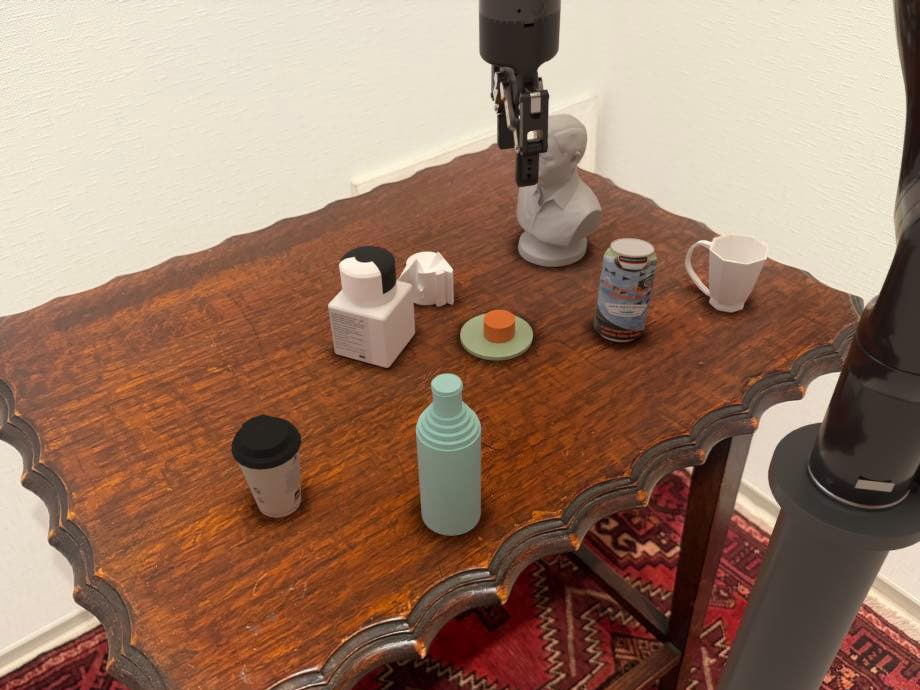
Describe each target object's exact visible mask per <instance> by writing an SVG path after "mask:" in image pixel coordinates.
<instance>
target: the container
mask: <svg viewBox="0 0 920 690" xmlns="http://www.w3.org/2000/svg"><path fill="white" fill-rule="evenodd" d="M338 267H339V275H340V283H341V290H340V291H339V292H338V293H337V294H336V295H335V296H334V297H333V299H332V300H331V301H330V302H329V303H328V305H327V308H328V315H329V322H330V330H331V338H332V344H333V350H334V354H335V355H339V356H342V357H346V358H348V359H352V360H356V361H360V362H363V363H366V364H371V365H374V366H378V367H381V368H385V369H388V368H390V367H391V366H392V364H393V363H394V362H395V361H396V359H397V358H398V357H399V355H400V354H401V353H402V352H403V350H404V349H405V347H406V346H407V345H408V343H410V341H411V340H412V338H413V337H414V336H415V334H416V323H415V321H416V319H415V305H414V304H415V303H414V302H413V288H412V285H411V284H409V283H405V282H400V281H397V270H396V269H397V267H396V258H395V256H394V254H393V253H392V252H391V251H389V250H388V249H387V248H384V247H382V246H378V245H363V246H358V247H354V248H352V249H350V250H348V251H347V252H345V253H344V254H343V255H342V256H341V258H340V259H339V263H338Z"/></svg>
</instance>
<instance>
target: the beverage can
mask: <svg viewBox="0 0 920 690" xmlns="http://www.w3.org/2000/svg"><path fill="white" fill-rule="evenodd" d="M601 265H602V266H601V272H600V278H599V279H600V280H599V287H598V293H597V299H596V306H595V312H594V319H593V329H594V330H595V332H597V333H598V334H599V335H600V336H601V337H602V338H604V339H606V340H609V341H611V342H616V343H627V342H631V341H633V340H636V339H638V338H640V337H641V336H642V335H643V334H644V333H645V327H646V323H647V317H648V312H649V307H650V301H651V296H652V291H653V287H654V286H653V285H654V281H655V275H656V271H657V265H658V257H657V254H656V253H655V246H654V245H653V244H651V243H650V242H648V241H646V240H643V239H639V238H632V237H623V238H618V239H615V240H613V241H612V242H611V243H610V246H609V247H608V248H607V250H605V252H604V254H603V260H602V264H601Z"/></svg>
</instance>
